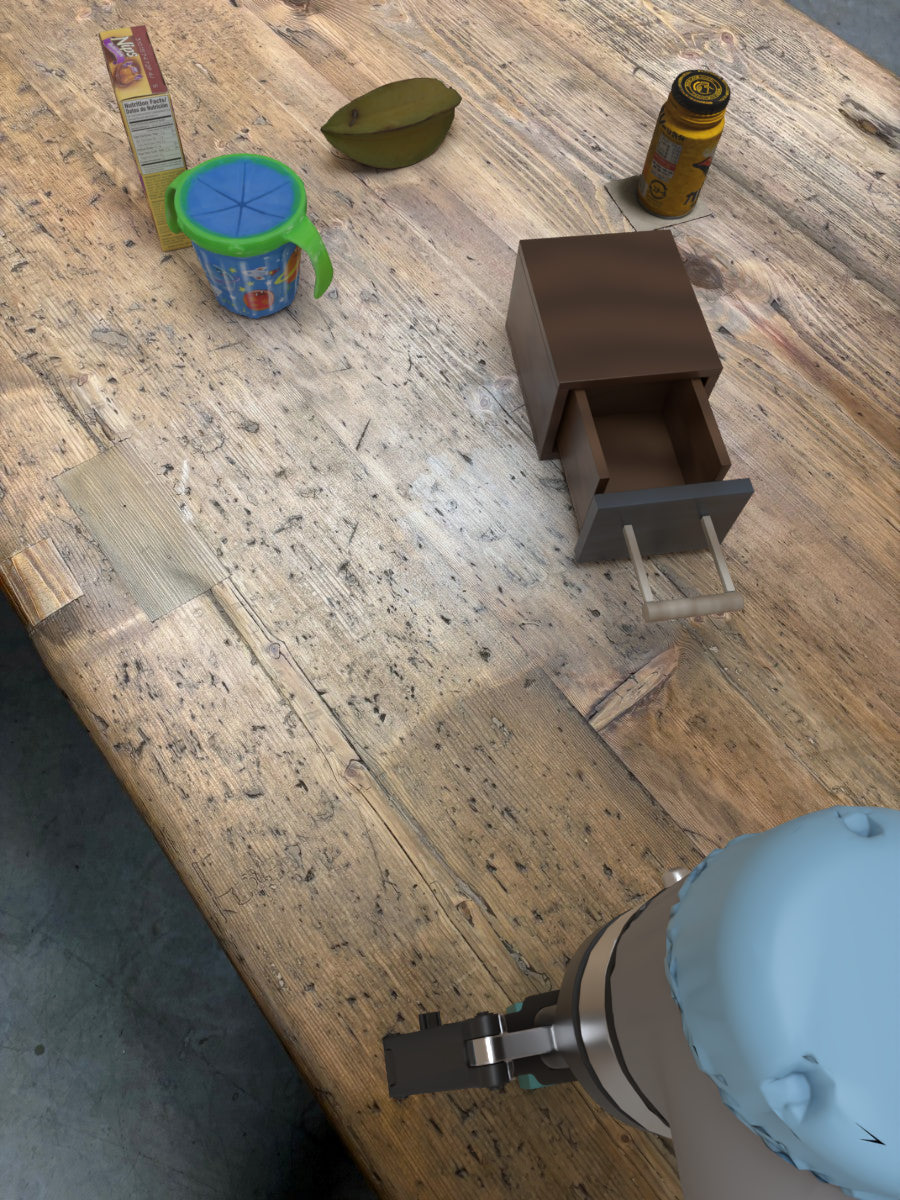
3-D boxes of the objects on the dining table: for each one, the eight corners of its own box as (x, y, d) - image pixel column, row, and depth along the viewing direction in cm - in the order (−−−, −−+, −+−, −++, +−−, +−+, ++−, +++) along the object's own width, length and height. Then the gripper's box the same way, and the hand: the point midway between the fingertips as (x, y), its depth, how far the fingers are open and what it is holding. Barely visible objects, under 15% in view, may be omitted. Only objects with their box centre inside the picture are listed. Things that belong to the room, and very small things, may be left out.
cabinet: (686, 445, 79) (723, 368, 70) (539, 461, 77) (559, 383, 68) (641, 315, 85) (670, 228, 77) (504, 326, 84) (519, 239, 75)
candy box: (139, 189, 88) (95, 28, 75) (184, 181, 89) (149, 21, 76) (159, 254, 85) (116, 98, 71) (206, 245, 86) (173, 89, 72)
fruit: (440, 196, 91) (444, 135, 85) (320, 172, 91) (316, 110, 85) (463, 122, 96) (468, 59, 90) (349, 100, 96) (347, 36, 90)
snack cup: (149, 283, 83) (121, 187, 74) (228, 219, 87) (210, 120, 78) (285, 368, 80) (273, 278, 71) (361, 296, 84) (358, 203, 75)
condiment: (712, 214, 92) (755, 101, 81) (638, 235, 90) (673, 122, 79) (675, 167, 95) (712, 52, 84) (602, 186, 93) (631, 71, 82)
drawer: (749, 635, 70) (790, 586, 63) (600, 654, 68) (625, 606, 61) (672, 409, 79) (700, 345, 72) (540, 422, 78) (555, 358, 71)
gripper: (975, 845, 35) (765, 921, 54) (303, 960, 31) (332, 998, 50) (1065, 1067, 31) (808, 1065, 50) (327, 1221, 28) (349, 1156, 47)
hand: (570, 1031), depth 50 cm, fingers open, 13 cm apart
